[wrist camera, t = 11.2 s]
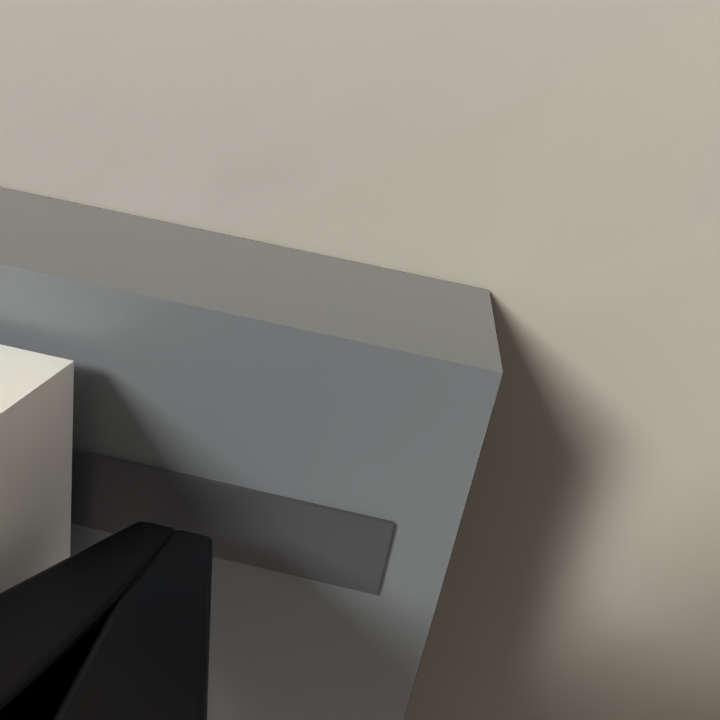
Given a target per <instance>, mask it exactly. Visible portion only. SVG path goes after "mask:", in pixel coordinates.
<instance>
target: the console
mask: <svg viewBox="0 0 720 720" xmlns="http://www.w3.org/2000/svg"><path fill="white" fill-rule="evenodd" d="M0 344H1V345H5V346H10V347H14V348H19V349H23V350H28V351H32V352H37V353H41V354H46V355H50V356H55V357H59V358H64V359H68V360H73V361H74V387H73V437H72V488H71V538H70V556H72V555H74V554H76V553H78V552H80V551H82V550H84V549H86V548H88V547H90V546H92V545H94V544H95V543H97V542H99V541H101V540H103V539H105V538H107V537H109V536H111V535H113V534H115V533H117V532H119V531H121V530H122V529H124V528H126V527H128V526H130V525H132V524H134V523H137V522H140V521H145V522H150V523H154V524H159V525H163V526H167V527H171V528H174V529H175V530H176V531H177V530H184V531H188V532H192V533H197V534H201V535H205V536H208V537H210V538H211V539H212V541H213V556H212V587H211V617H210V648H209V678H208V709H207V720H404V717H405V713H406V710H407V706H408V703H409V699H410V696H411V692H412V689H413V685H414V682H415V678H416V675H417V671H418V668H419V664H420V661H421V657H422V654H423V650H424V647H425V643H426V640H427V637H428V633H429V630H430V626H431V623H432V619H433V616H434V612H435V609H436V605H437V602H438V598H439V595H440V591H441V588H442V584H443V581H444V577H445V574H446V570H447V567H448V563H449V560H450V556H451V553H452V549H453V546H454V542H455V539H456V535H457V532H458V528H459V525H460V521H461V518H462V515H463V511H464V508H465V504H466V501H467V497H468V494H469V490H470V487H471V483H472V480H473V476H474V473H475V469H476V466H477V462H478V459H479V455H480V452H481V448H482V445H483V441H484V438H485V434H486V431H487V427H488V424H489V420H490V417H491V413H492V410H493V406H494V403H495V399H496V396H497V393H498V389H499V386H500V382H501V379H502V375H503V369H502V363H501V357H500V351H499V346H498V340H497V334H496V328H495V322H494V316H493V310H492V304H491V299H490V293H489V290H486V289H481V288H476V287H472V286H467V285H462V284H457V283H453V282H448V281H443V280H438V279H434V278H429V277H424V276H419V275H415V274H410V273H405V272H401V271H396V270H391V269H386V268H382V267H377V266H372V265H367V264H363V263H358V262H353V261H348V260H344V259H339V258H334V257H329V256H325V255H320V254H315V253H310V252H306V251H301V250H296V249H291V248H287V247H282V246H277V245H272V244H268V243H263V242H258V241H253V240H249V239H244V238H239V237H234V236H230V235H225V234H220V233H215V232H211V231H206V230H201V229H196V228H192V227H187V226H182V225H177V224H173V223H168V222H163V221H158V220H154V219H149V218H144V217H139V216H135V215H130V214H125V213H120V212H116V211H111V210H106V209H101V208H97V207H92V206H87V205H82V204H78V203H73V202H68V201H63V200H59V199H54V198H49V197H44V196H40V195H35V194H30V193H25V192H21V191H16V190H11V189H6V188H2V187H0Z"/></svg>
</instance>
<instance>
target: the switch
mask: <svg viewBox="0 0 720 720" xmlns="http://www.w3.org/2000/svg"><path fill="white" fill-rule="evenodd" d="M73 387H74V361H73V360H68V359H64V358H59V357H55V356H50V355H46V354H41V353H37V352H32V351H28V350H23V349H19V348H14V347H10V346H5V345H1V344H0V593H1V592H3V591H5V590H7V589H9V588H11V587H13V586H14V585H16V584H18V583H20V582H22V581H24V580H26V579H28V578H30V577H32V576H34V575H36V574H38V573H40V572H41V571H43V570H45V569H47V568H49V567H51V566H53V565H55V564H57V563H59V562H61V561H63V560H65V559H67V558H68V557H70V538H71V488H72V437H73Z"/></svg>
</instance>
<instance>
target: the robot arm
mask: <svg viewBox="0 0 720 720" xmlns="http://www.w3.org/2000/svg"><path fill="white" fill-rule="evenodd" d="M212 556H213V541H212V539H211V538H210V537H208V536H205V535H201V534H197V533H192V532H188V531H184V530H177V531H176V530H175V529H174V528H171V527H167V526H163V525H159V524H154V523H150V522H145V521H140V522H137V523H134V524H132V525H130V526H128V527H126V528H124V529H122V530H121V531H119V532H117V533H115V534H113V535H111V536H109V537H107V538H105V539H103V540H101V541H99V542H97V543H95V544H94V545H92V546H90V547H88V548H86V549H84V550H82V551H80V552H78V553H76V554H74V555H72V556H70V557H68V558H67V559H65V560H63V561H61V562H59V563H57V564H55V565H53V566H51V567H49V568H47V569H45V570H43V571H41V572H40V573H38V574H36V575H34V576H32V577H30V578H28V579H26V580H24V581H22V582H20V583H18V584H16V585H14V586H13V587H11V588H9V589H7V590H5V591H3V592H1V593H0V720H207V709H208V678H209V648H210V617H211V587H212Z"/></svg>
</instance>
